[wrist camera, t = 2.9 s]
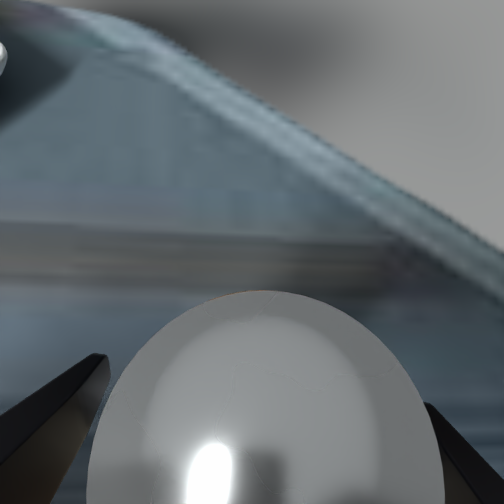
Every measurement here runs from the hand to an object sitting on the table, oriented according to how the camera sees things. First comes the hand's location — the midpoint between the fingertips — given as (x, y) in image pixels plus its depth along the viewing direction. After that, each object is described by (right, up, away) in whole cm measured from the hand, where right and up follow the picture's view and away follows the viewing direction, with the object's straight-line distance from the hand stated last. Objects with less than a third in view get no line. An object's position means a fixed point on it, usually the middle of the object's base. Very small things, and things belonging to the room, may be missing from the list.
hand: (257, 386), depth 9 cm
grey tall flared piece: (0, -3, +7) cm, 8 cm away
